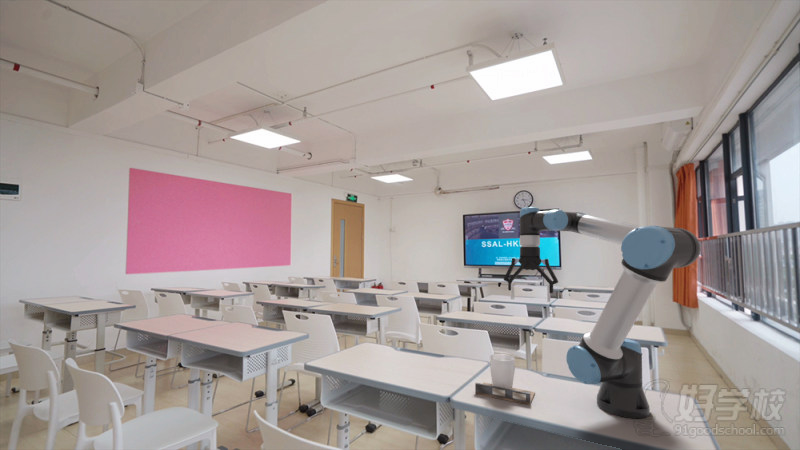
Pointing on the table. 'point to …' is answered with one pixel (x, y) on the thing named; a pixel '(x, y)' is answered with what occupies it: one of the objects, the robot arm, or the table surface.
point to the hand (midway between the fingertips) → (530, 300)
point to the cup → (502, 370)
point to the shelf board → (504, 393)
